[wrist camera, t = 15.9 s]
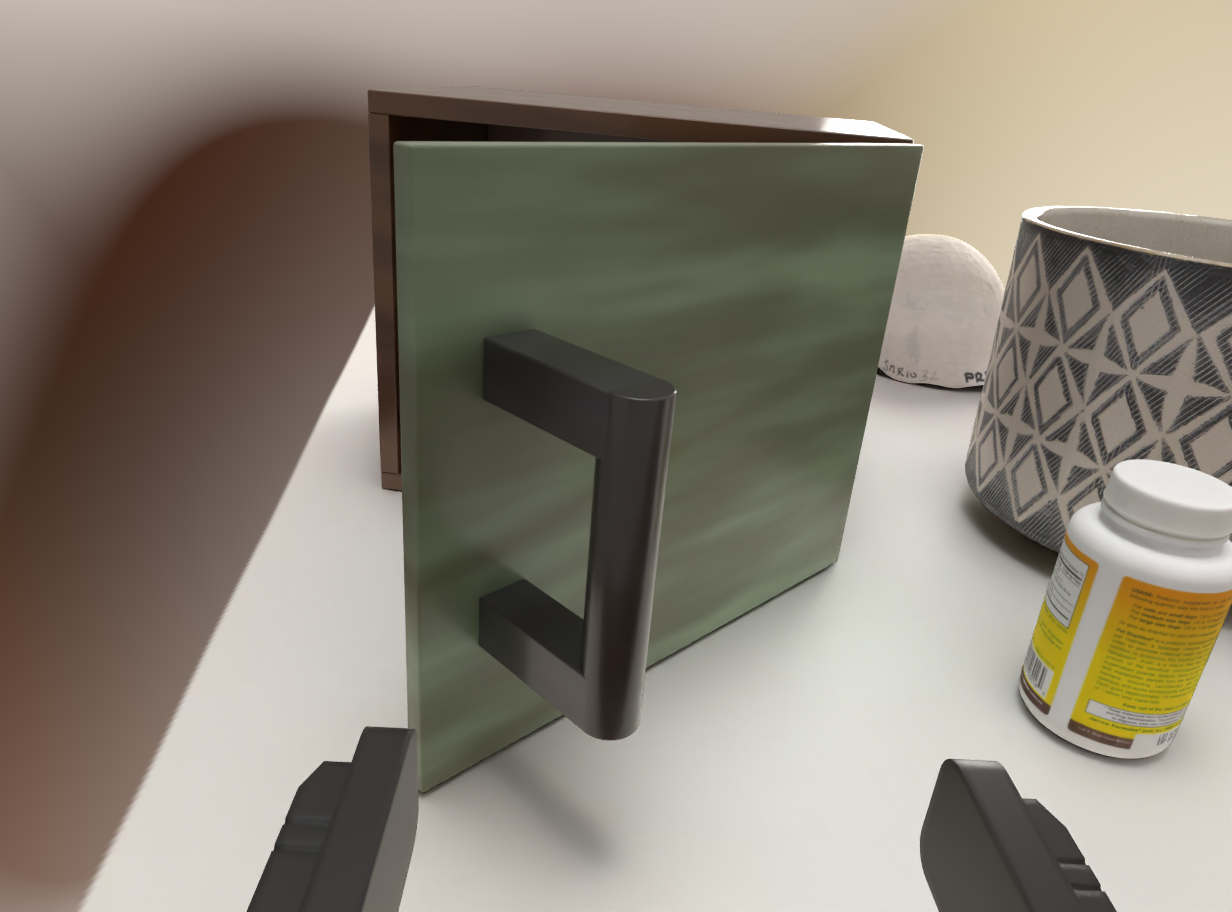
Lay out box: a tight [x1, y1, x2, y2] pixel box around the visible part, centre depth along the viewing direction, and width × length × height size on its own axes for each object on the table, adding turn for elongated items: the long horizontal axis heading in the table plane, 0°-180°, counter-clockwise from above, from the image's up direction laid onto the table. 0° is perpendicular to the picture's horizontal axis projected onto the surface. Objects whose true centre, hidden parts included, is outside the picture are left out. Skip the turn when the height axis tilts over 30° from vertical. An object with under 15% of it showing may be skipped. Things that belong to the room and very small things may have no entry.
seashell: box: [878, 234, 1005, 388], centre depth 77 cm, size 15×14×15 cm
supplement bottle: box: [1019, 459, 1232, 759], centre depth 32 cm, size 6×6×10 cm
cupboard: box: [368, 86, 914, 491], centre depth 49 cm, size 16×24×20 cm, turn 81°
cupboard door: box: [393, 141, 924, 793], centre depth 30 cm, size 7×24×20 cm, turn 134°
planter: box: [965, 206, 1232, 553], centre depth 46 cm, size 19×19×16 cm
